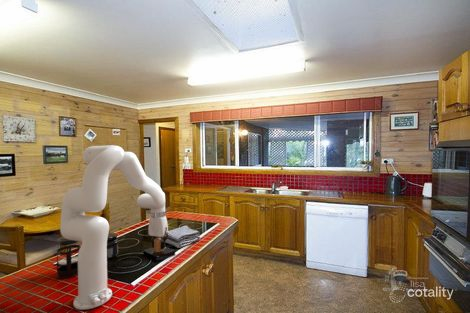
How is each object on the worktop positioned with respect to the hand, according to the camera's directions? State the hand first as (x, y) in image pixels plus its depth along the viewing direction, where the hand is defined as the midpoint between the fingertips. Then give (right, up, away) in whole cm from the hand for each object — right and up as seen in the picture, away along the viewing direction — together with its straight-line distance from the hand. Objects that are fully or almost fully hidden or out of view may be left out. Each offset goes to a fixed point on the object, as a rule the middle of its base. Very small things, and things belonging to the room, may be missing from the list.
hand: (158, 247), depth 131 cm
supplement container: (-27, -5, -3) cm, 27 cm away
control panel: (0, -4, 0) cm, 4 cm away
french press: (-35, -5, -20) cm, 40 cm away
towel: (+9, -4, +19) cm, 21 cm away
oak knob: (0, -2, 0) cm, 2 cm away
